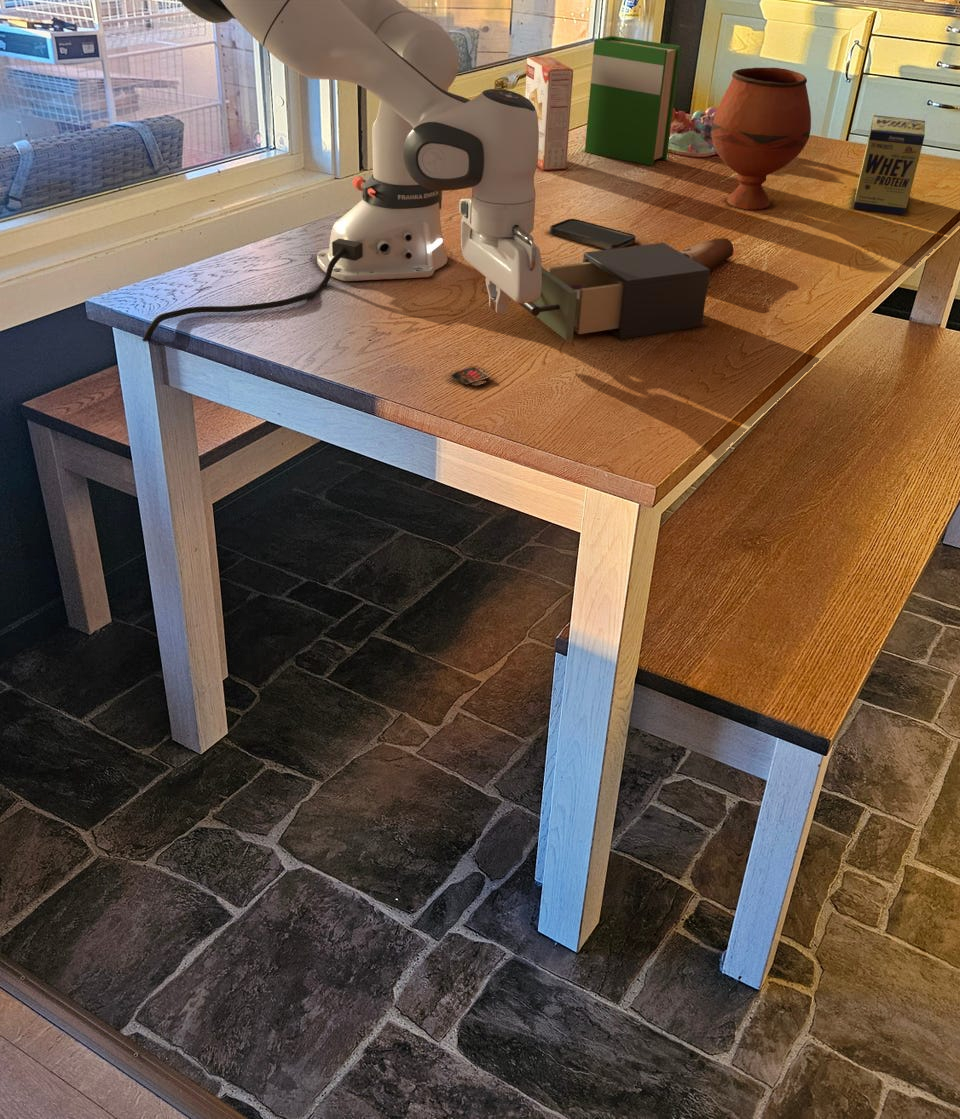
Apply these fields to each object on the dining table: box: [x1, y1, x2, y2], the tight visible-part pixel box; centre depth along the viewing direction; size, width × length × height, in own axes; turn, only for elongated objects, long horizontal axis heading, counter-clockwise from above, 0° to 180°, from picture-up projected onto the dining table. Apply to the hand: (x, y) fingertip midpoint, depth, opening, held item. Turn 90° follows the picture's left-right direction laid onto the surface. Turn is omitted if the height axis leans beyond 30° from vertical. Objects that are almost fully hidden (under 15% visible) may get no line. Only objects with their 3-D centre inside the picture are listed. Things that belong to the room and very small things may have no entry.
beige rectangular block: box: [570, 285, 583, 320], centre depth 165 cm, size 7×3×3 cm, turn 25°
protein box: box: [852, 114, 926, 216], centre depth 224 cm, size 10×16×16 cm
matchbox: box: [450, 366, 491, 387], centre depth 150 cm, size 5×5×1 cm
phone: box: [549, 218, 636, 250], centre depth 202 cm, size 8×1×15 cm
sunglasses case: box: [678, 237, 735, 272], centre depth 189 cm, size 18×7×7 cm
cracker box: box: [524, 56, 574, 171], centre depth 239 cm, size 14×6×21 cm, turn 17°
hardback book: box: [584, 35, 682, 166], centre depth 246 cm, size 18×7×24 cm, turn 54°
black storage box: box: [582, 242, 711, 340], centre depth 168 cm, size 15×13×9 cm
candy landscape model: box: [667, 106, 718, 158], centre depth 260 cm, size 25×24×9 cm
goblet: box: [711, 67, 812, 211], centre depth 217 cm, size 19×19×25 cm
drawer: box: [517, 262, 624, 341], centre depth 164 cm, size 18×12×7 cm, turn 114°
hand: (498, 310), depth 159 cm, fingers closed
